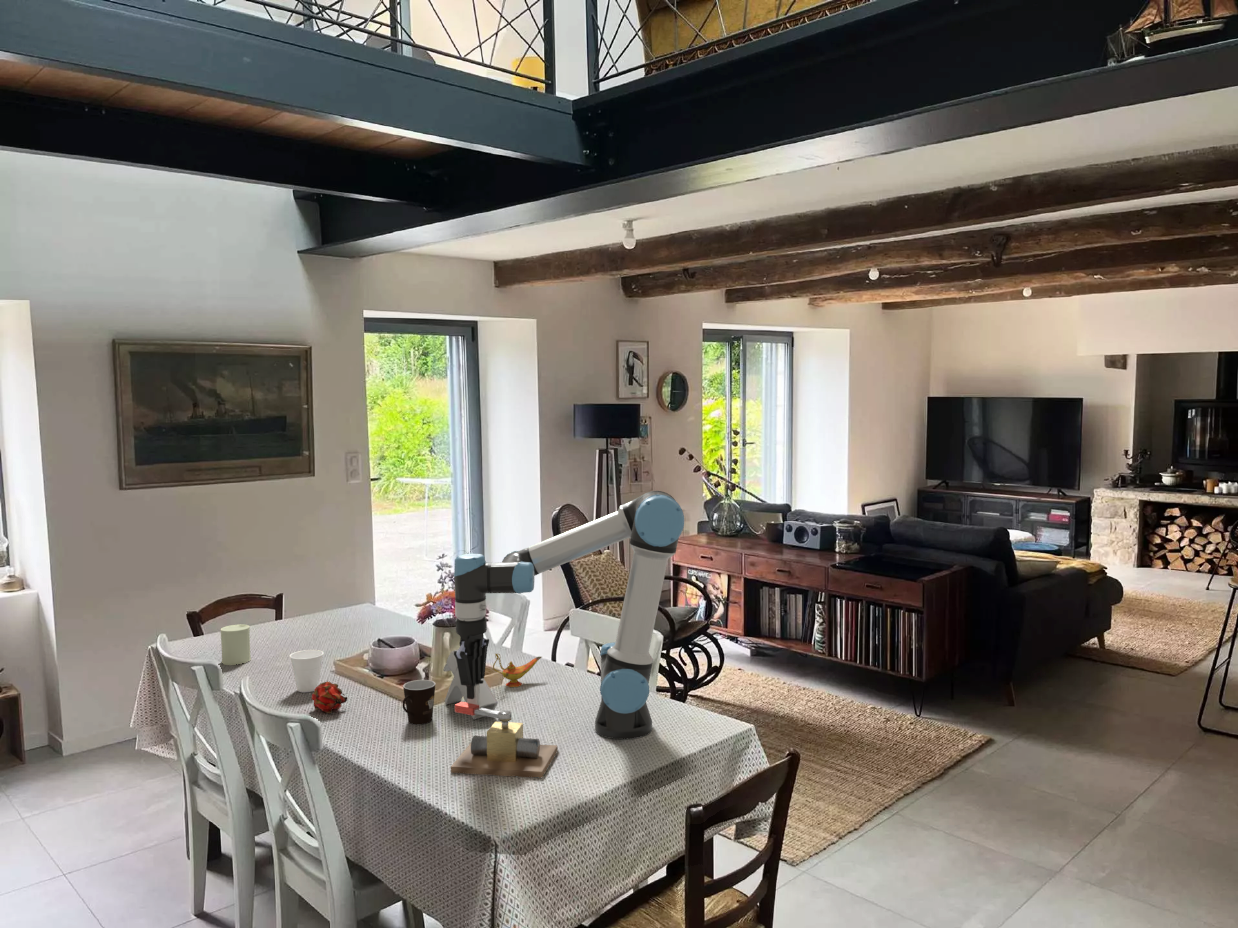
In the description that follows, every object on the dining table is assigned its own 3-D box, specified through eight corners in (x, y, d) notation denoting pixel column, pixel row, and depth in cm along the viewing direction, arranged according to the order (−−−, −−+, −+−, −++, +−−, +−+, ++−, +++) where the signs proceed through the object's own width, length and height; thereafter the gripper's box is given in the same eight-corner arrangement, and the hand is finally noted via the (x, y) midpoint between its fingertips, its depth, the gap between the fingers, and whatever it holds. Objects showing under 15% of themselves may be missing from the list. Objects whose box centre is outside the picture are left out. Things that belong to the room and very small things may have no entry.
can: (257, 659, 309) (255, 625, 308) (232, 666, 301) (231, 631, 300) (240, 655, 314) (238, 621, 313) (215, 662, 306) (214, 627, 305)
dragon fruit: (320, 708, 264) (340, 725, 256) (298, 698, 258) (317, 714, 250) (337, 682, 266) (357, 698, 258) (315, 671, 261) (335, 687, 252)
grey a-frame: (479, 706, 246) (449, 648, 257) (461, 741, 255) (433, 683, 266) (499, 701, 250) (469, 644, 261) (480, 735, 259) (452, 679, 270)
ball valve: (541, 751, 223) (540, 716, 222) (534, 763, 216) (533, 726, 215) (478, 748, 225) (477, 713, 224) (469, 759, 218) (468, 723, 218)
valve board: (557, 751, 227) (557, 745, 227) (542, 777, 211) (541, 771, 211) (472, 746, 230) (472, 740, 230) (450, 772, 214) (450, 766, 214)
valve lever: (514, 718, 220) (514, 711, 220) (506, 722, 218) (506, 715, 217) (462, 708, 228) (462, 701, 228) (454, 712, 225) (453, 705, 225)
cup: (305, 696, 270) (304, 660, 269) (283, 691, 275) (282, 655, 274) (332, 687, 278) (330, 652, 277) (310, 682, 283) (309, 647, 283)
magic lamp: (548, 679, 284) (548, 645, 283) (499, 692, 272) (498, 656, 271) (536, 674, 289) (535, 640, 288) (487, 686, 278) (486, 651, 277)
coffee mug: (425, 712, 255) (424, 677, 255) (442, 720, 249) (441, 684, 248) (388, 723, 247) (387, 687, 246) (405, 731, 241) (404, 694, 240)
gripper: (470, 625, 217) (472, 720, 220) (497, 612, 229) (500, 703, 231) (443, 622, 220) (446, 716, 222) (472, 609, 232) (474, 699, 234)
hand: (473, 709), depth 227 cm, fingers closed
